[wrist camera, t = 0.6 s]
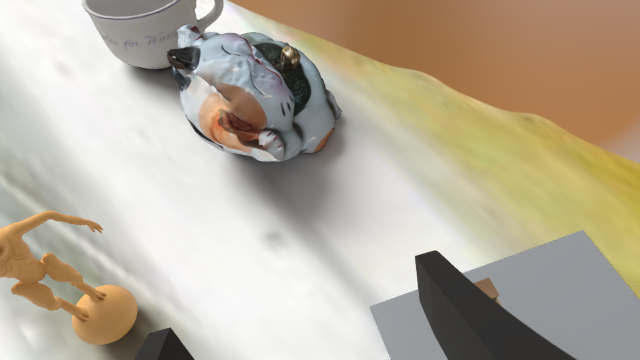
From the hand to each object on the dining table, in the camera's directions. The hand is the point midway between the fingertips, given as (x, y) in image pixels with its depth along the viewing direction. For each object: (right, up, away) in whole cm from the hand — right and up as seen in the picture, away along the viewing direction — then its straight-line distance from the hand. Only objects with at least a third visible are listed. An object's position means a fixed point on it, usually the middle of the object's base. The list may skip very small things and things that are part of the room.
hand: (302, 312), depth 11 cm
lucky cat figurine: (-5, +9, +28) cm, 29 cm away
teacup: (-17, +20, +35) cm, 43 cm away
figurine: (-16, -6, +17) cm, 24 cm away
